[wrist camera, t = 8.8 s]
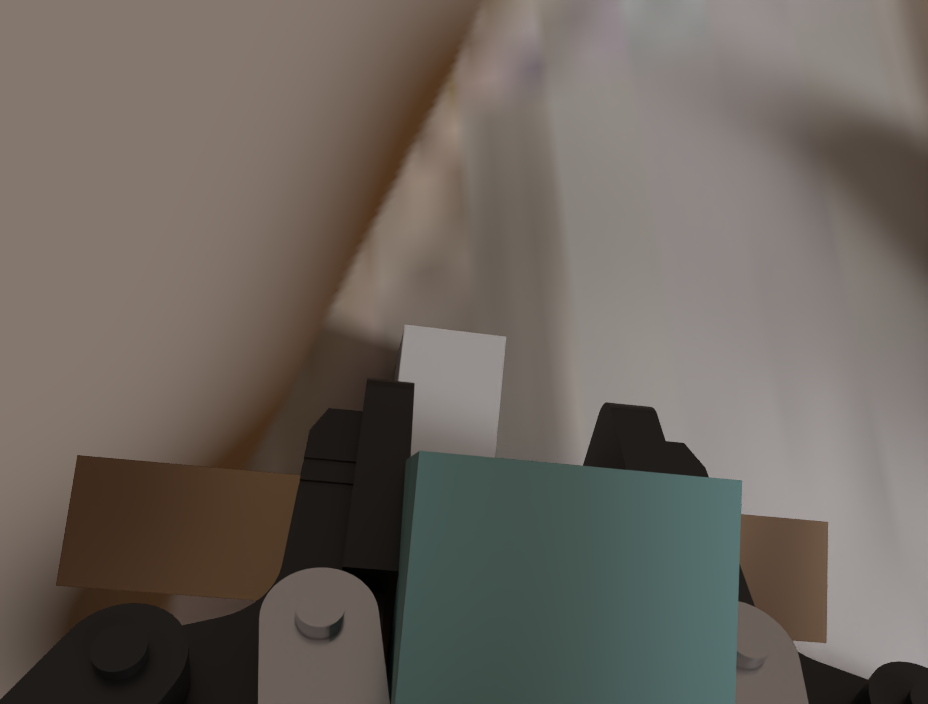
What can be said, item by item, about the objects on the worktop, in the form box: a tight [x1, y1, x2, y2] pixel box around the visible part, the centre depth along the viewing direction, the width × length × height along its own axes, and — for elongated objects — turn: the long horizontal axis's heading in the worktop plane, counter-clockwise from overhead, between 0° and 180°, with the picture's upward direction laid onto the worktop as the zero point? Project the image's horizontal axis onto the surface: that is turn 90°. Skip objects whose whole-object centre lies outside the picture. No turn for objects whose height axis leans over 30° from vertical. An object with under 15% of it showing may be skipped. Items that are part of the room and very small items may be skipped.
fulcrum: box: [394, 325, 506, 458], centre depth 28 cm, size 3×10×9 cm, turn 174°
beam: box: [56, 451, 828, 704], centre depth 13 cm, size 15×3×11 cm, turn 85°
